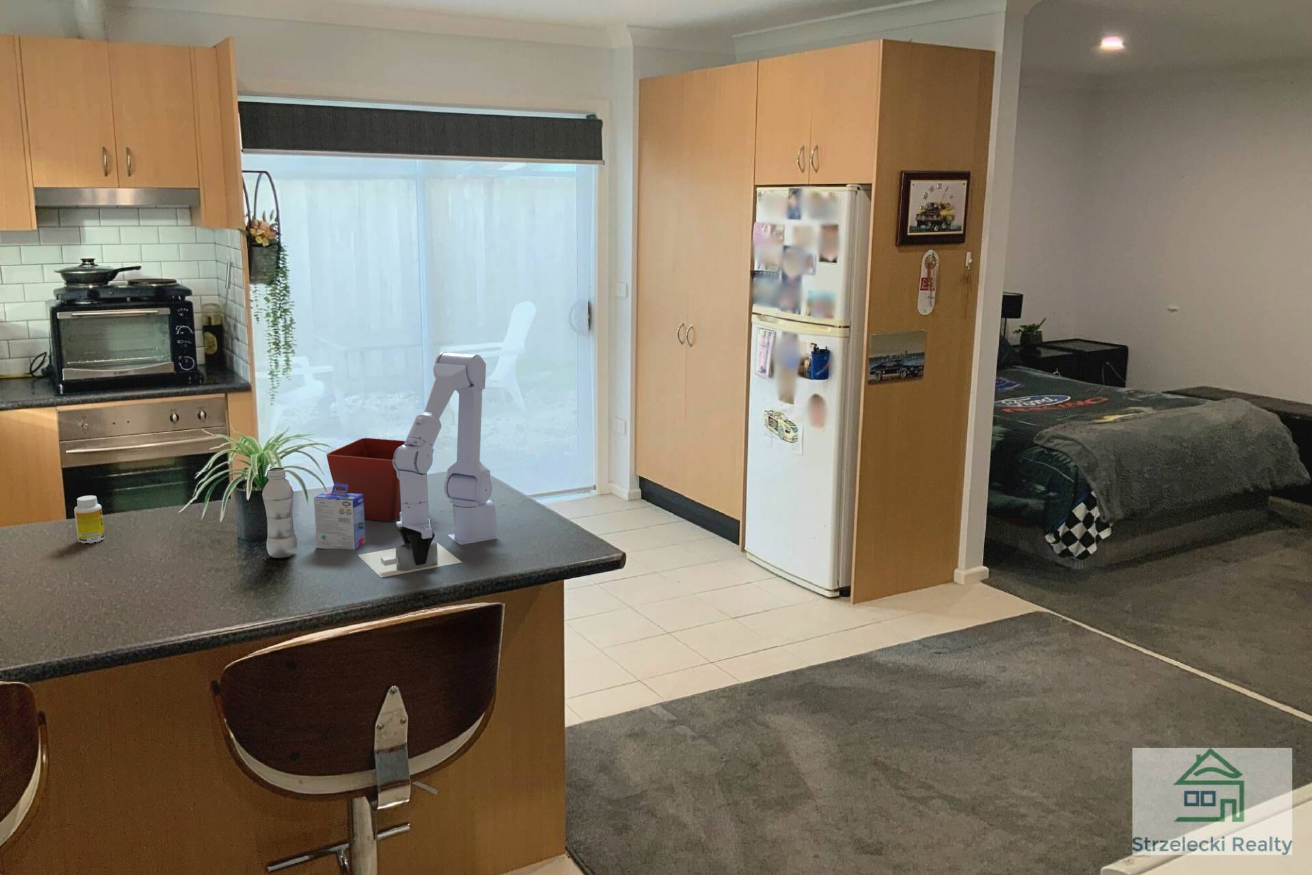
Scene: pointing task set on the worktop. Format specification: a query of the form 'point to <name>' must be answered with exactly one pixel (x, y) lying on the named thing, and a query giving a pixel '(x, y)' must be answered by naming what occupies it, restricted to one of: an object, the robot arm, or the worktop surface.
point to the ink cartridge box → (339, 519)
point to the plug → (410, 558)
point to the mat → (384, 571)
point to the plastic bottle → (279, 514)
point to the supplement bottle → (89, 520)
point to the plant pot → (369, 475)
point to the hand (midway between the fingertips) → (417, 560)
